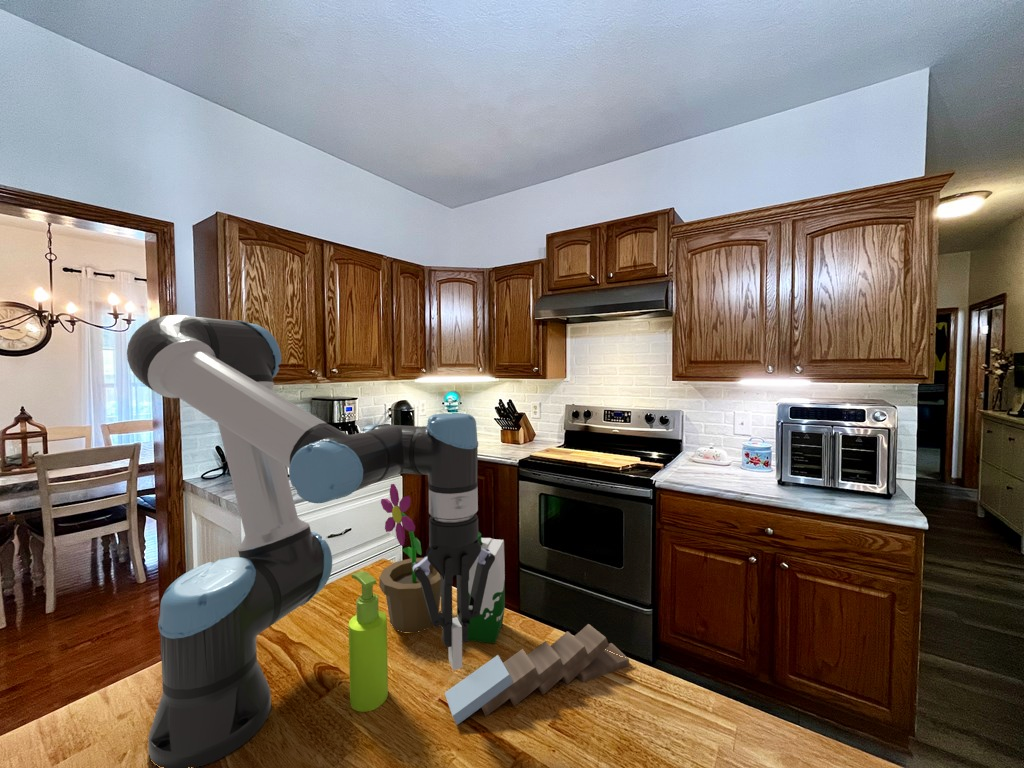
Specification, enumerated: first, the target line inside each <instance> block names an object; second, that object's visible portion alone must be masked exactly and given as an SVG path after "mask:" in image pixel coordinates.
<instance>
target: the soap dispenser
mask: <svg viewBox="0 0 1024 768" xmlns="http://www.w3.org/2000/svg"><path fill="white" fill-rule="evenodd" d="M351 578H352V579H355V580H356V581H358V583H359V584H361V595H359V597H358V598H356V614H355V615H353V616H352V617H351V618H350V619H349V621H348V655H349V656H348V660H349V663H348V664H349V698H350V699H349V703H350V706H351V708H352V709H353V710H355V711H357V712H371V711H373V710H376V709H378V708H380V707H381V706H382V705H383V704H384V703H385V702H386V700H387V698H388V696H389V684H388V683H389V679H388V677H389V676H388V675H389V673H388V629H387V627H388V622H387V621H388V620H387V619H388V618H387V614H386V613H385V612H384V611H382V610H379V609H380V608H379V595H378V594H376V593H374V591H373V590H374V589H373V586H374V585H376V584H377V579H376V578H375V577H374V576H372V575H371V573H369V572H367V571H365V570H364V571H363V570H360V571H359V572H355V573H352V574H351Z"/></svg>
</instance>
